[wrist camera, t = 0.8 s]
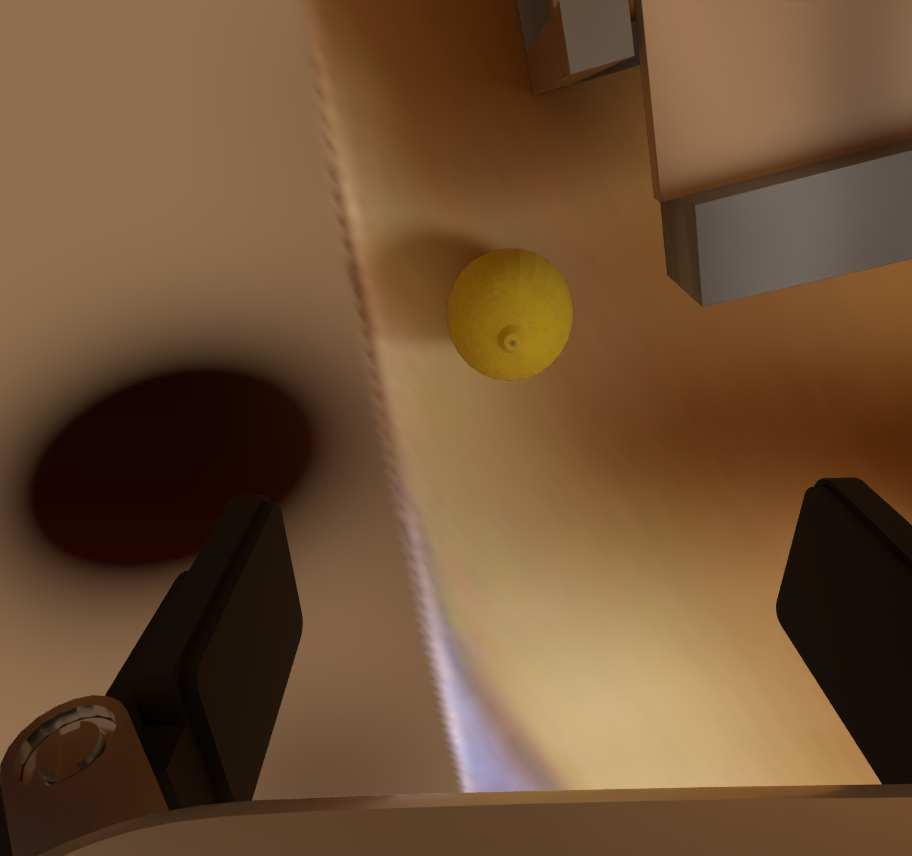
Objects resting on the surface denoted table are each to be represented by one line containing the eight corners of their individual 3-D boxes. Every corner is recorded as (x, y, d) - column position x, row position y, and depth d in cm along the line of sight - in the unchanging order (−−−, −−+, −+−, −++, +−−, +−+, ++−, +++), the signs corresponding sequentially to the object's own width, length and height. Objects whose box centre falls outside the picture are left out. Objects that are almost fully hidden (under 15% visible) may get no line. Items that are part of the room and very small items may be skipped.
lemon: (428, 290, 31) (412, 339, 24) (510, 210, 29) (520, 238, 22) (501, 365, 33) (507, 433, 25) (584, 294, 31) (615, 345, 24)
